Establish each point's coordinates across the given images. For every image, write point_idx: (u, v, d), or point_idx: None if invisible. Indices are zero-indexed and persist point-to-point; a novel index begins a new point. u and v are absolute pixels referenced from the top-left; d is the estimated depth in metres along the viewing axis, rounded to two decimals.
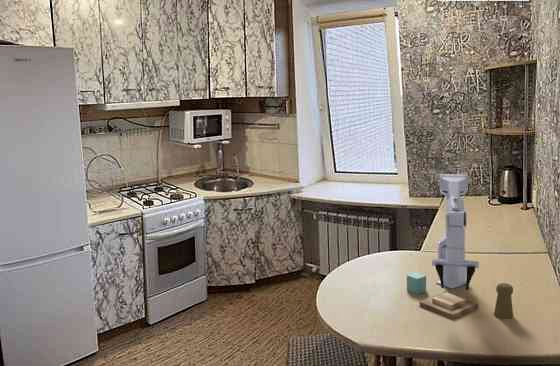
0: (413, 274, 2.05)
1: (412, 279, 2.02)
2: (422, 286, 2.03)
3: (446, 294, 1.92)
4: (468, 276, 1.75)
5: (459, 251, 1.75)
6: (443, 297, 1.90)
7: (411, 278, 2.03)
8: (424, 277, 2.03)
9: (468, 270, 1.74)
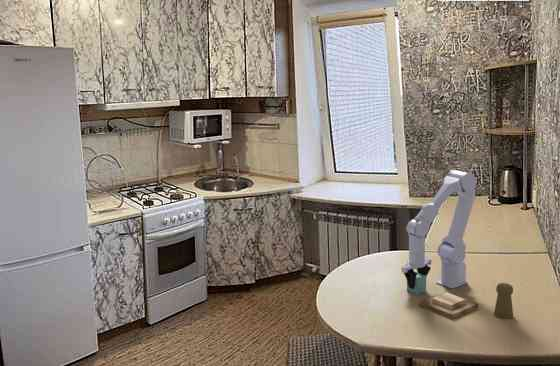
0: None
1: None
2: (422, 286, 2.02)
3: (446, 294, 1.92)
4: None
5: None
6: (443, 297, 1.90)
7: None
8: (424, 277, 2.03)
9: None
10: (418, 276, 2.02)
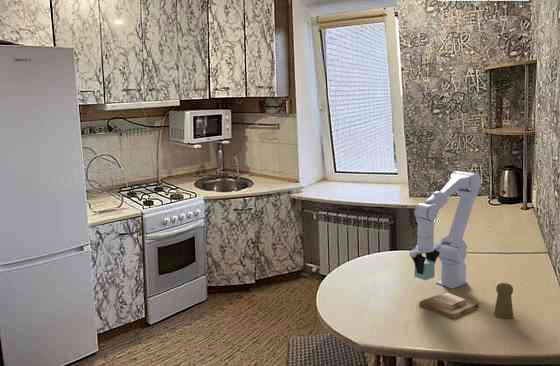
0: None
1: None
2: (430, 272, 1.97)
3: (446, 294, 1.92)
4: None
5: None
6: (443, 297, 1.90)
7: None
8: (432, 263, 1.97)
9: None
10: (426, 262, 1.97)
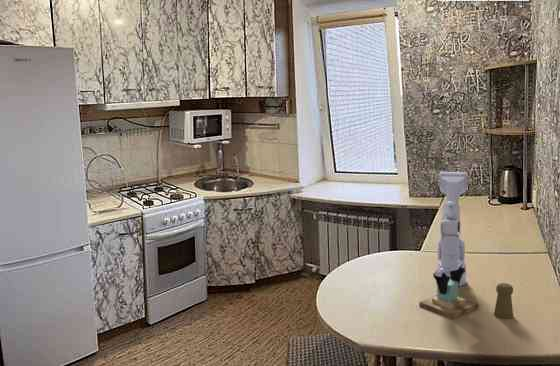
0: None
1: None
2: (454, 293, 1.87)
3: None
4: None
5: (441, 255, 1.87)
6: None
7: None
8: (456, 283, 1.87)
9: None
10: (450, 283, 1.87)
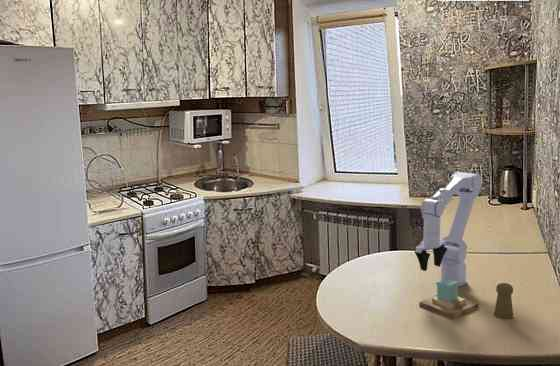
0: (444, 280, 1.89)
1: (444, 286, 1.86)
2: (454, 293, 1.87)
3: None
4: None
5: None
6: None
7: (443, 285, 1.87)
8: (456, 283, 1.87)
9: None
10: (450, 283, 1.87)
